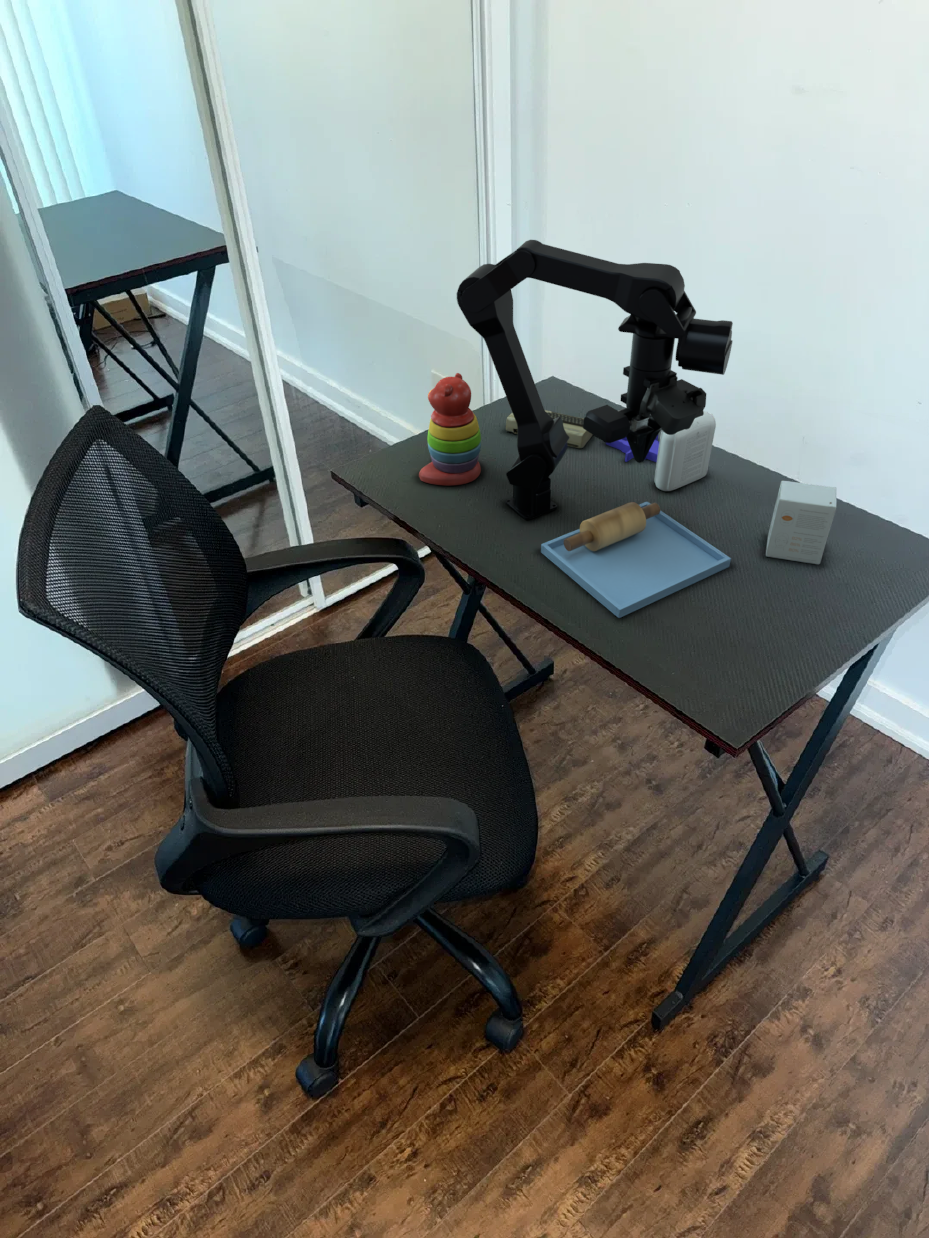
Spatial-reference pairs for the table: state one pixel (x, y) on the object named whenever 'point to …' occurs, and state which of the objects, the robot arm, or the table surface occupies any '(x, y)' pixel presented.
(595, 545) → the rolling pin
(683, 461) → the photo printer
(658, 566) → the tray
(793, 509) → the small box
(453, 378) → the stacking bear
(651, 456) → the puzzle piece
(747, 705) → the table surface
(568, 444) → the computer
